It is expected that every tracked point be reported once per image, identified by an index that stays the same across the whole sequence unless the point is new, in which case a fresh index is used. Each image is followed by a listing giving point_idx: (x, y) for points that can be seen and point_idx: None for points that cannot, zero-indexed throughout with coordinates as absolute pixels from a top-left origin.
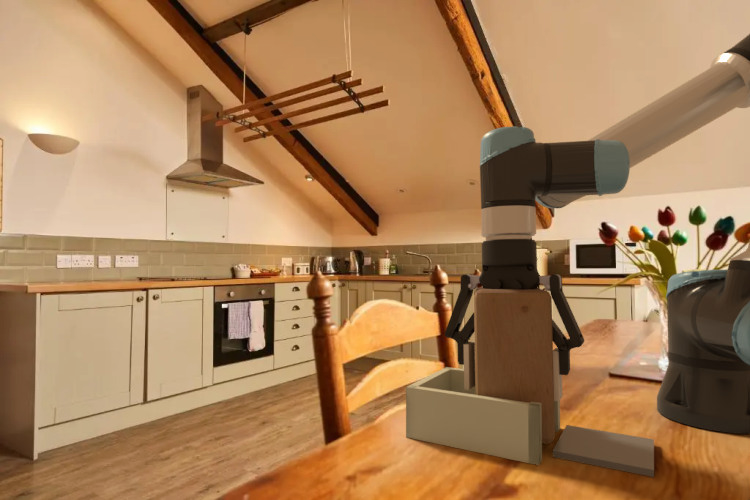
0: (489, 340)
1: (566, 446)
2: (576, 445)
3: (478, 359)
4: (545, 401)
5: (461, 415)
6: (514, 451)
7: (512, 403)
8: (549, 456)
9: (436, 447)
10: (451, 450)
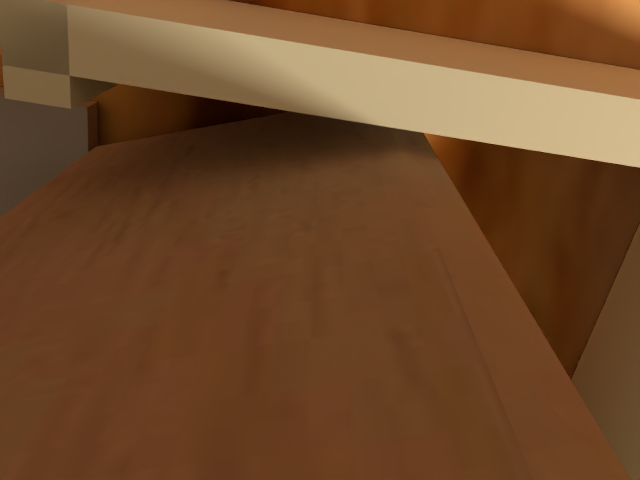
0: (388, 449)
1: (47, 173)
2: (15, 197)
3: (497, 278)
4: (21, 207)
5: (513, 63)
6: (227, 3)
7: (180, 24)
8: (111, 104)
9: (587, 17)
10: (515, 7)
